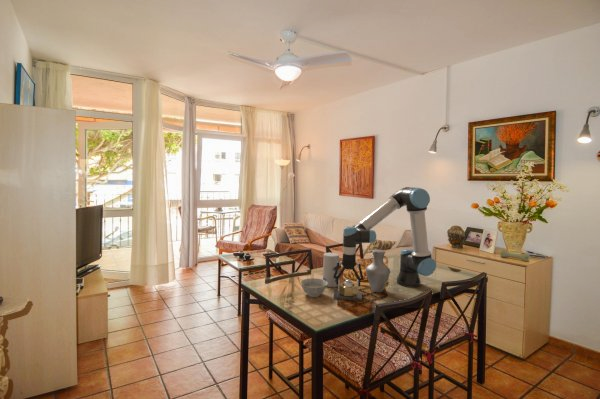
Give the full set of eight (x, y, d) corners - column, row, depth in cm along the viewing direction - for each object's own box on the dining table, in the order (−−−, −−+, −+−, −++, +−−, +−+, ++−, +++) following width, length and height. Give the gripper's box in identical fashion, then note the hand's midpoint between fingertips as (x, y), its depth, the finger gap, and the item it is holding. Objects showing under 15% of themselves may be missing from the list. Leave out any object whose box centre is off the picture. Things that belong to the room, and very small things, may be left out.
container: (337, 287, 206) (338, 256, 205) (321, 286, 208) (322, 255, 207) (338, 282, 216) (339, 252, 215) (323, 281, 218) (324, 251, 216)
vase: (387, 296, 194) (389, 254, 192) (363, 292, 199) (365, 252, 197) (390, 288, 208) (391, 249, 206) (367, 285, 212) (368, 247, 211)
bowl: (306, 301, 183) (307, 288, 183) (295, 291, 198) (296, 279, 197) (331, 297, 190) (332, 285, 189) (319, 288, 204) (319, 276, 204)
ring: (356, 290, 197) (356, 282, 197) (356, 296, 187) (357, 288, 187) (339, 289, 198) (339, 281, 198) (339, 295, 189) (339, 287, 188)
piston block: (361, 293, 198) (361, 277, 197) (362, 300, 186) (362, 284, 185) (334, 291, 200) (334, 276, 199) (333, 298, 188) (334, 282, 187)
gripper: (368, 252, 193) (367, 289, 195) (330, 250, 196) (329, 287, 198) (369, 256, 186) (368, 294, 187) (329, 253, 189) (328, 291, 191)
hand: (348, 290), depth 193 cm, fingers closed on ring, 10 cm apart
